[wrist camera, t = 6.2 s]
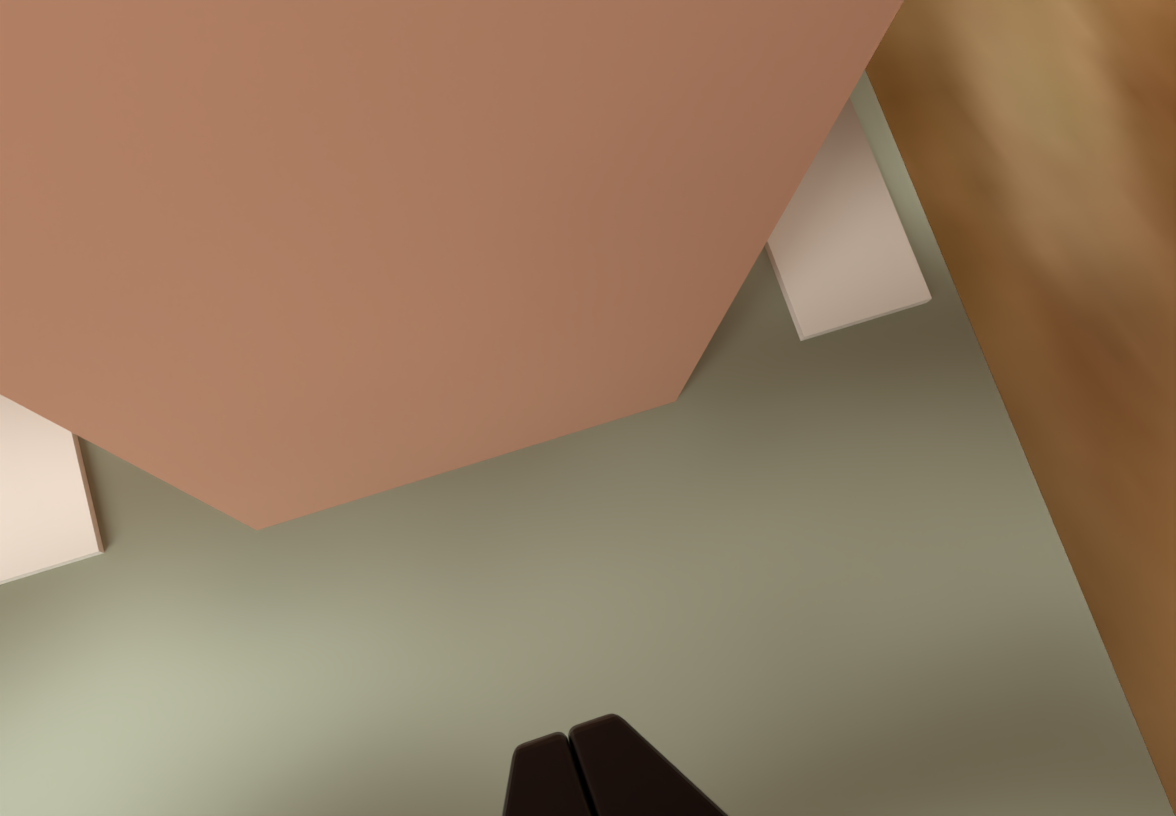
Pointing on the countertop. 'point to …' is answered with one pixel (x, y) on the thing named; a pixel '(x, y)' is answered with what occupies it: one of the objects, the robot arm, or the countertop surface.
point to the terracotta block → (388, 221)
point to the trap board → (602, 585)
